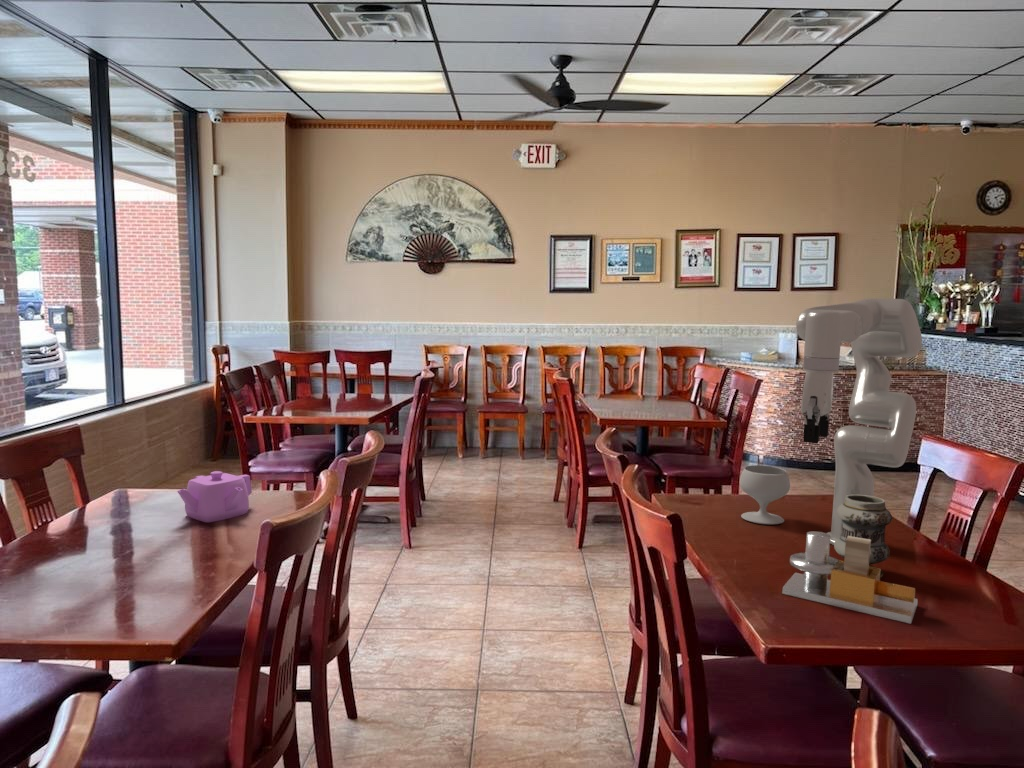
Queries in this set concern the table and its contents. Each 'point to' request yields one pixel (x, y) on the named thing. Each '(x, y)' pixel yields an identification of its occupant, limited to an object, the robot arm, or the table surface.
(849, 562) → the cream rectangular block
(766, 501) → the chalice
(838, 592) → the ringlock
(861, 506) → the apothecary jar
